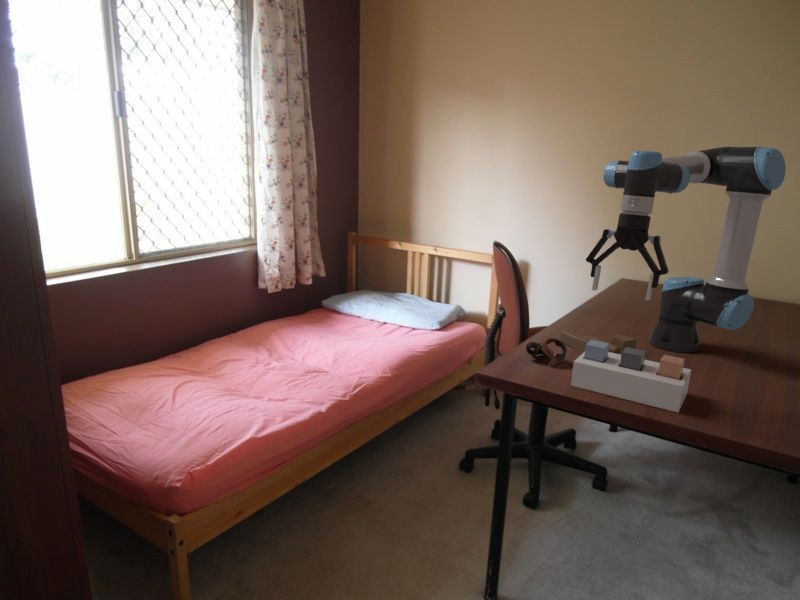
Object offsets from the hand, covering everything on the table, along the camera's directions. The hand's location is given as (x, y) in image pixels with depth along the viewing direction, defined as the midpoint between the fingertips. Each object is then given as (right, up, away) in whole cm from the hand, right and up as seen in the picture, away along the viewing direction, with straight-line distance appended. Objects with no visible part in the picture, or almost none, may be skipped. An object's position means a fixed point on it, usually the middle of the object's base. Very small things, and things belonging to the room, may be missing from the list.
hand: (620, 294), depth 150 cm
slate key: (-4, -18, +8) cm, 20 cm away
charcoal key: (+4, -20, +3) cm, 21 cm away
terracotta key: (+12, -22, -2) cm, 25 cm away
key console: (+4, -26, +4) cm, 26 cm away
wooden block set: (+7, -18, +38) cm, 42 cm away
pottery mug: (-14, -20, +24) cm, 34 cm away
